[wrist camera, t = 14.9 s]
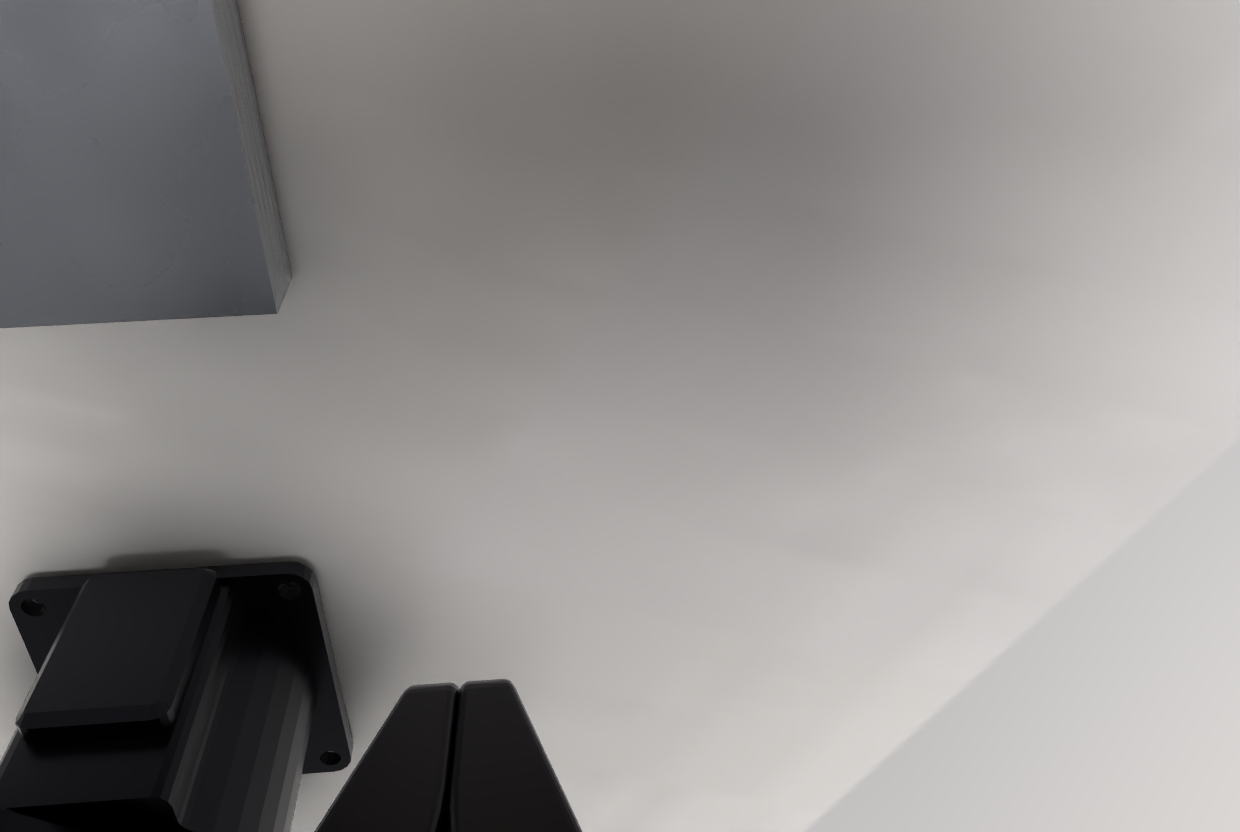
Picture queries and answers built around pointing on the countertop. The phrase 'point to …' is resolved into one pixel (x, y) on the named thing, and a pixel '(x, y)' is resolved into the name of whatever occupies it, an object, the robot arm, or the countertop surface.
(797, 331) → the countertop surface
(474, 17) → the countertop surface
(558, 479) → the countertop surface
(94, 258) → the label panel
